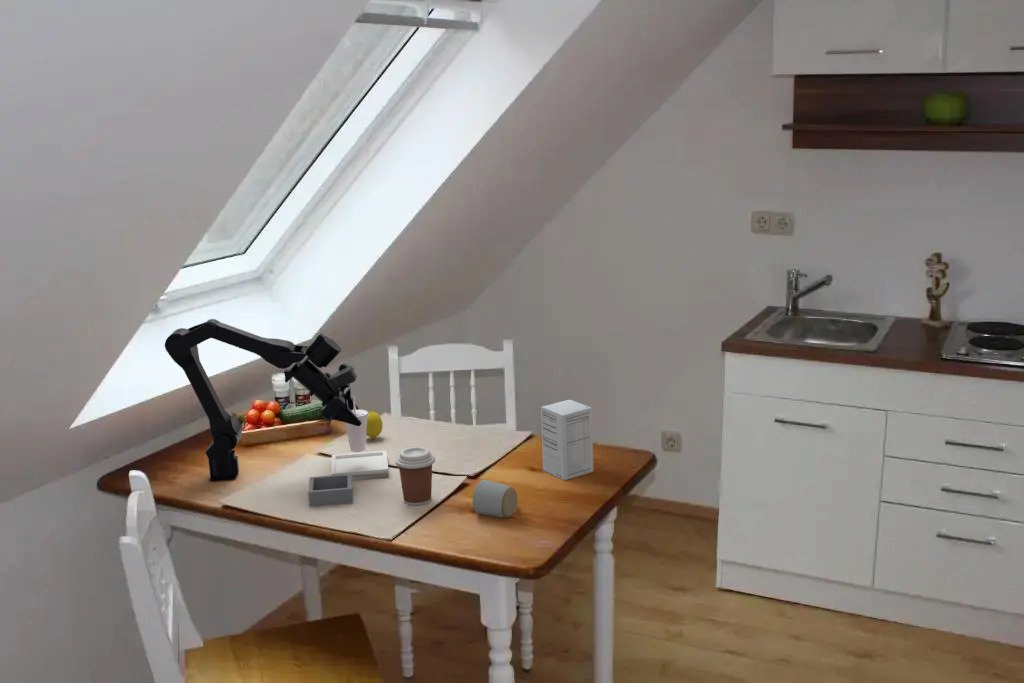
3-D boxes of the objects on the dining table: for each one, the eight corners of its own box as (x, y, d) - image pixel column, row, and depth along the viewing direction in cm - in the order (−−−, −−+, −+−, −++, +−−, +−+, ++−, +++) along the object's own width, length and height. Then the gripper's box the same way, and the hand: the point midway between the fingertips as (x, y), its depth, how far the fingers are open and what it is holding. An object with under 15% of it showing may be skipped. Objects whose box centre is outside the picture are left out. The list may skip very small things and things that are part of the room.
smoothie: (366, 443, 271) (362, 391, 268) (374, 451, 265) (370, 397, 262) (341, 448, 268) (338, 395, 265) (349, 455, 263) (345, 401, 259)
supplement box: (572, 461, 268) (570, 398, 264) (594, 472, 261) (593, 406, 257) (541, 470, 263) (539, 405, 259) (563, 481, 256) (562, 414, 252)
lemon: (359, 441, 289) (357, 413, 287) (369, 434, 294) (367, 407, 292) (377, 443, 287) (375, 415, 285) (386, 436, 292) (385, 409, 290)
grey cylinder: (504, 523, 232) (503, 490, 230) (472, 518, 236) (471, 485, 234) (526, 507, 241) (525, 475, 240) (494, 501, 245) (493, 470, 243)
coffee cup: (435, 491, 252) (432, 443, 249) (439, 505, 243) (436, 456, 240) (396, 494, 251) (393, 447, 248) (399, 509, 242) (396, 460, 239)
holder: (309, 506, 245) (308, 492, 244) (310, 490, 255) (309, 477, 254) (352, 502, 247) (351, 488, 246) (352, 487, 256) (351, 473, 255)
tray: (331, 481, 260) (331, 473, 260) (332, 462, 274) (331, 454, 273) (388, 476, 262) (388, 469, 262) (386, 457, 276) (386, 450, 275)
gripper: (332, 367, 252) (381, 409, 255) (339, 347, 270) (384, 387, 273) (301, 399, 253) (350, 441, 256) (310, 378, 271) (356, 417, 275)
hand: (361, 420), depth 265 cm, fingers closed on smoothie, 6 cm apart
